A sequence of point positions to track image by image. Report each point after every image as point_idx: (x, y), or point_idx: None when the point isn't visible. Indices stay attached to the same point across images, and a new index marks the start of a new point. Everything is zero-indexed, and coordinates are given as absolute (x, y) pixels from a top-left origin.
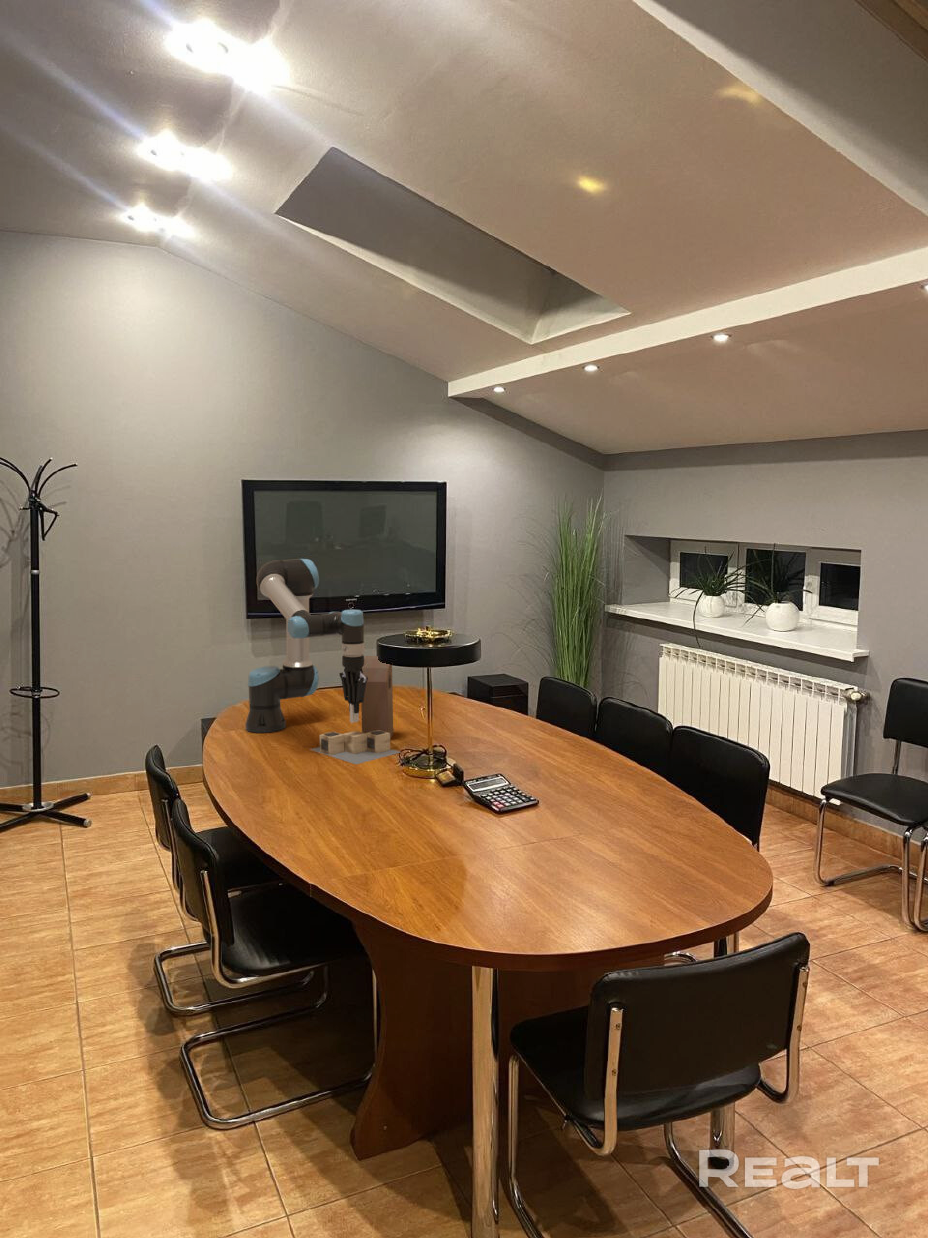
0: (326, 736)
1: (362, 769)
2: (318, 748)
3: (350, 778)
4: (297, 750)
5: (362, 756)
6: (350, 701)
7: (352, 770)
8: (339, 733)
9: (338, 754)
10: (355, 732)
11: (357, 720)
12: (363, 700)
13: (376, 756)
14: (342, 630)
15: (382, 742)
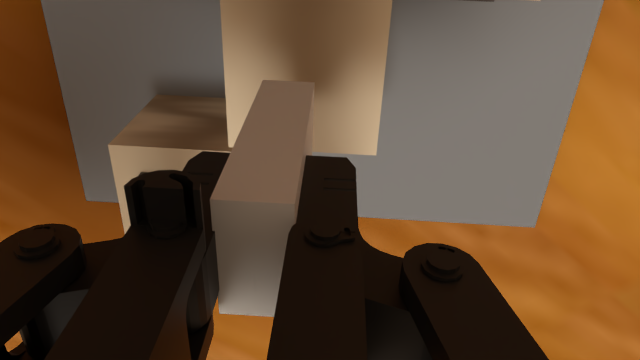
0: None
1: (599, 235)
2: (101, 159)
3: (629, 345)
4: (37, 224)
5: (457, 102)
6: (212, 331)
7: (560, 273)
8: (194, 151)
9: None
10: (265, 39)
11: (312, 106)
12: (486, 278)
13: (544, 39)
14: None
15: None
